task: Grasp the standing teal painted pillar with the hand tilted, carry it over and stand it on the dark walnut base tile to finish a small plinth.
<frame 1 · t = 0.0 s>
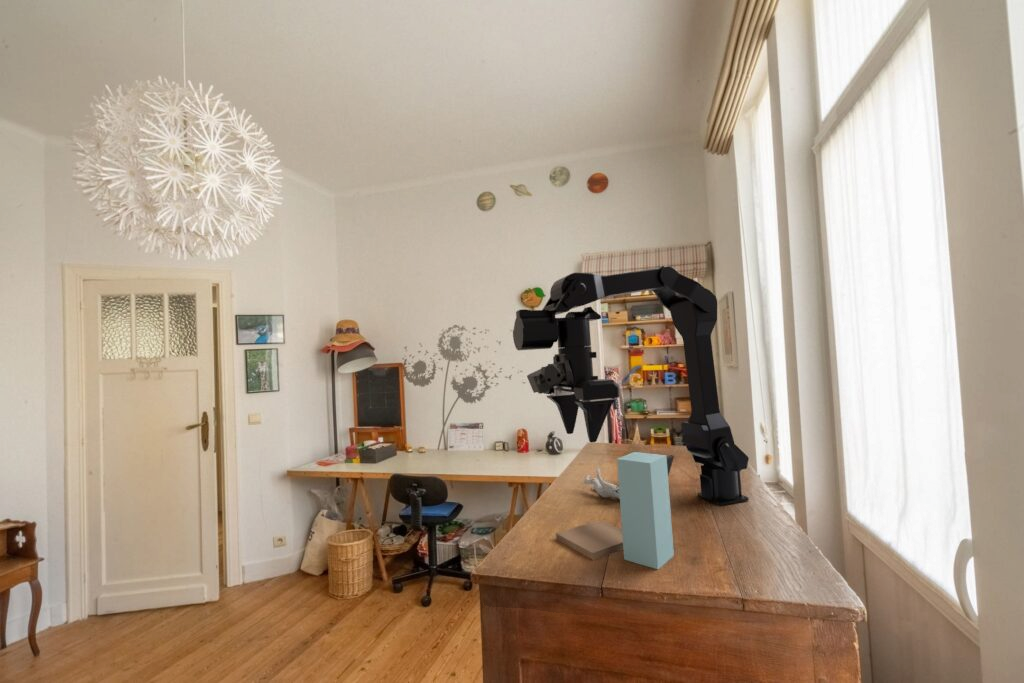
hand: (580, 437, 77), 15 cm above the table, tool pointing down, fingers open, 9 cm apart
base tile: (597, 544, 69), on the table
character figurine: (648, 491, 92), on the table
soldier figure: (605, 498, 90), on the table
pillar: (649, 557, 62), on the table
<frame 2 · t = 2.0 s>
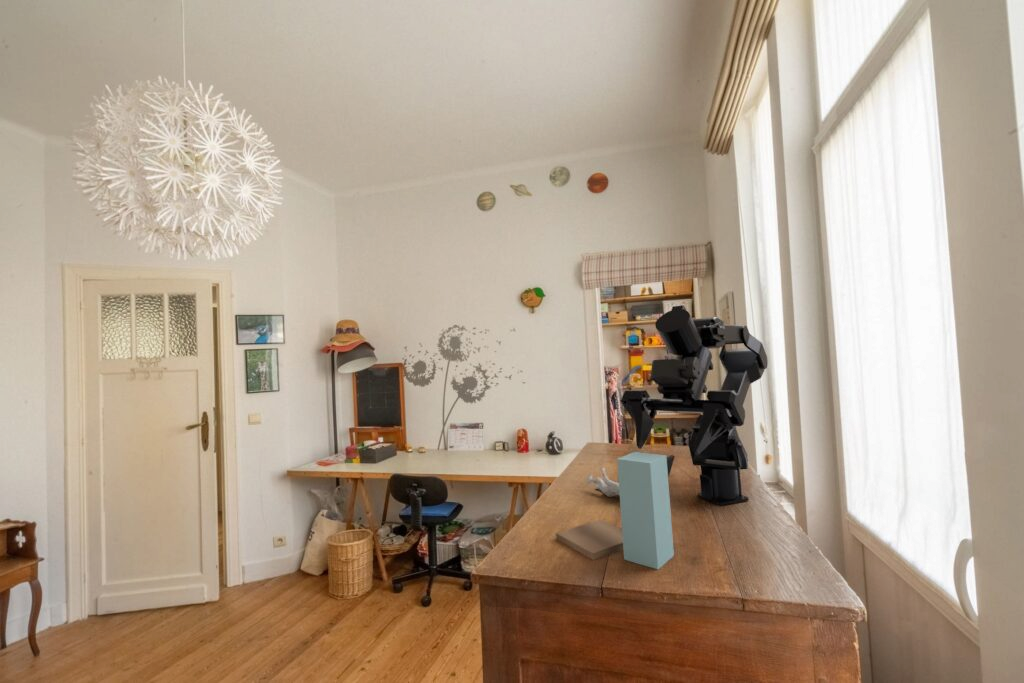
hand: (666, 450, 69), 13 cm above the table, tool tilted 45°, fingers open, 9 cm apart
character figurine: (649, 491, 92), on the table, touching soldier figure
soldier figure: (610, 497, 90), on the table, touching character figurine
everything else where it was.
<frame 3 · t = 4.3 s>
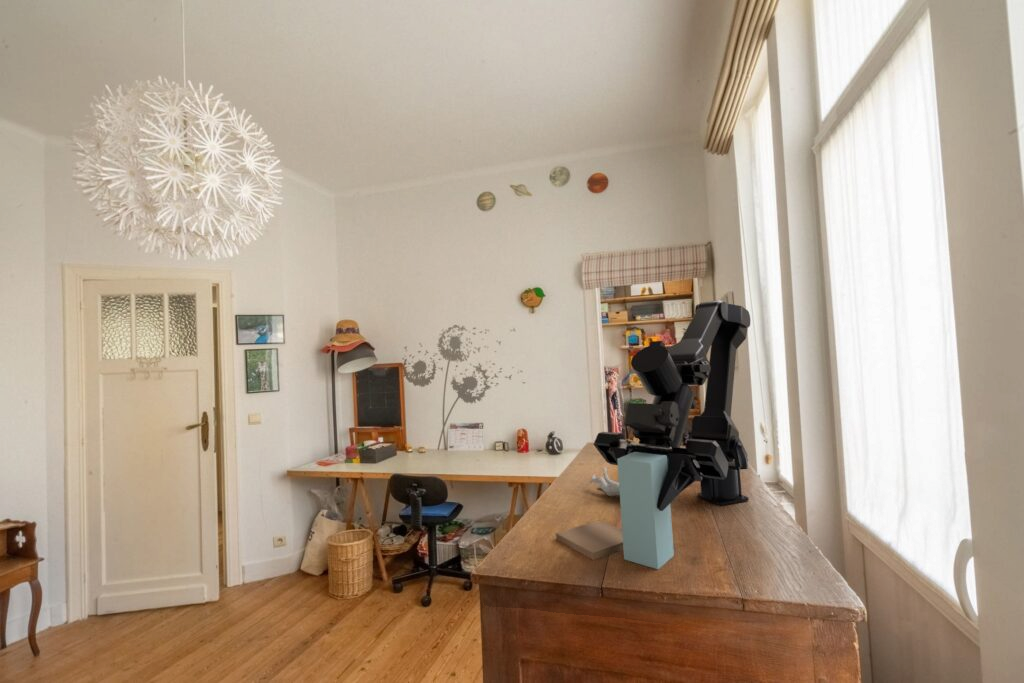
hand: (640, 505, 62), 8 cm above the table, tool tilted 45°, fingers closed on pillar, 5 cm apart
pillar: (649, 557, 62), on the table, touching gripper
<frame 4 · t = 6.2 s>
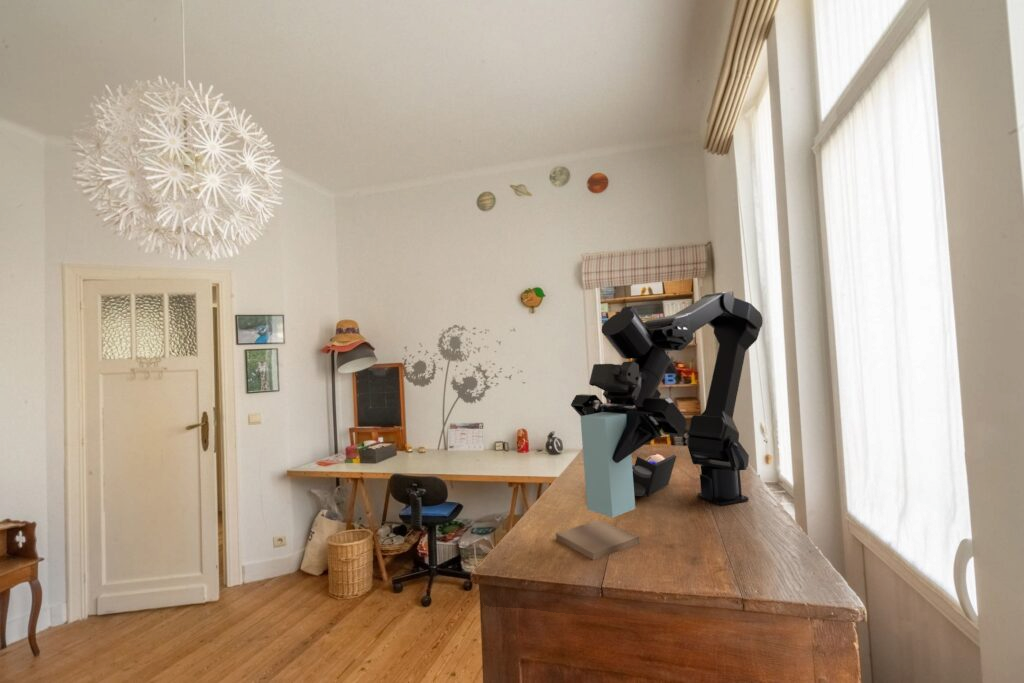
hand: (600, 458, 66), 13 cm above the table, tool tilted 45°, fingers closed on pillar, 5 cm apart
character figurine: (651, 491, 92), on the table
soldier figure: (613, 496, 90), on the table
pillar: (611, 509, 66), point 6 cm above the table, touching gripper
everything else where it was.
when the fingers open (10 cm above the table, at t = 7.6 s): pillar drops 1 cm, resting on base tile.
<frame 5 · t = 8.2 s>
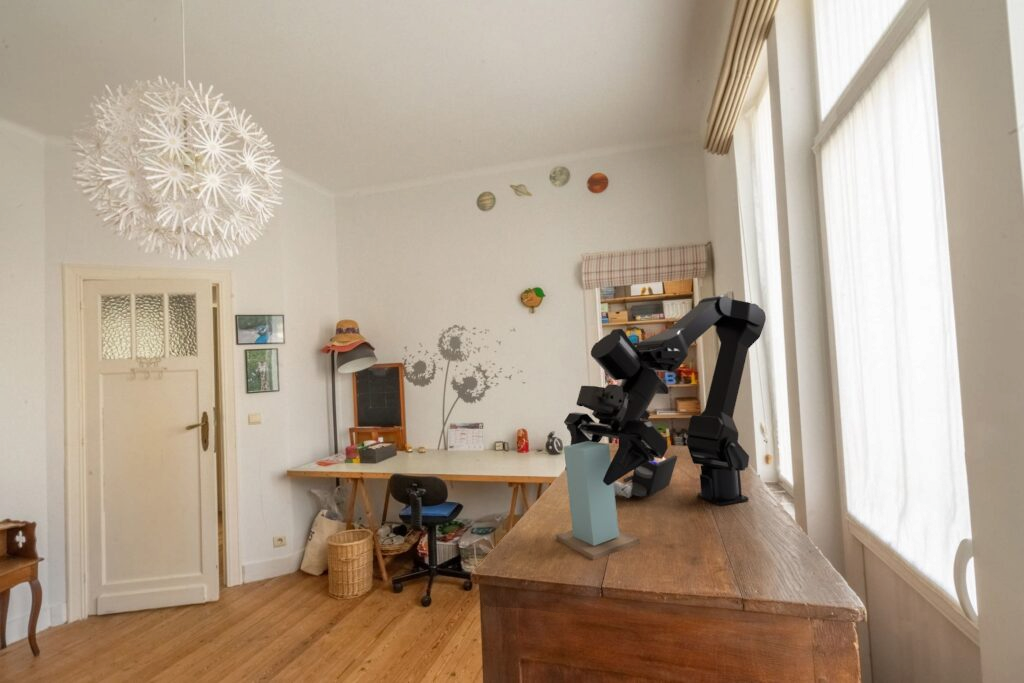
hand: (585, 477, 69), 10 cm above the table, tool tilted 45°, fingers open, 9 cm apart
base tile: (597, 546, 69), on the table, touching pillar
pillar: (595, 536, 69), point 1 cm above the table, touching base tile
everything else where it was.
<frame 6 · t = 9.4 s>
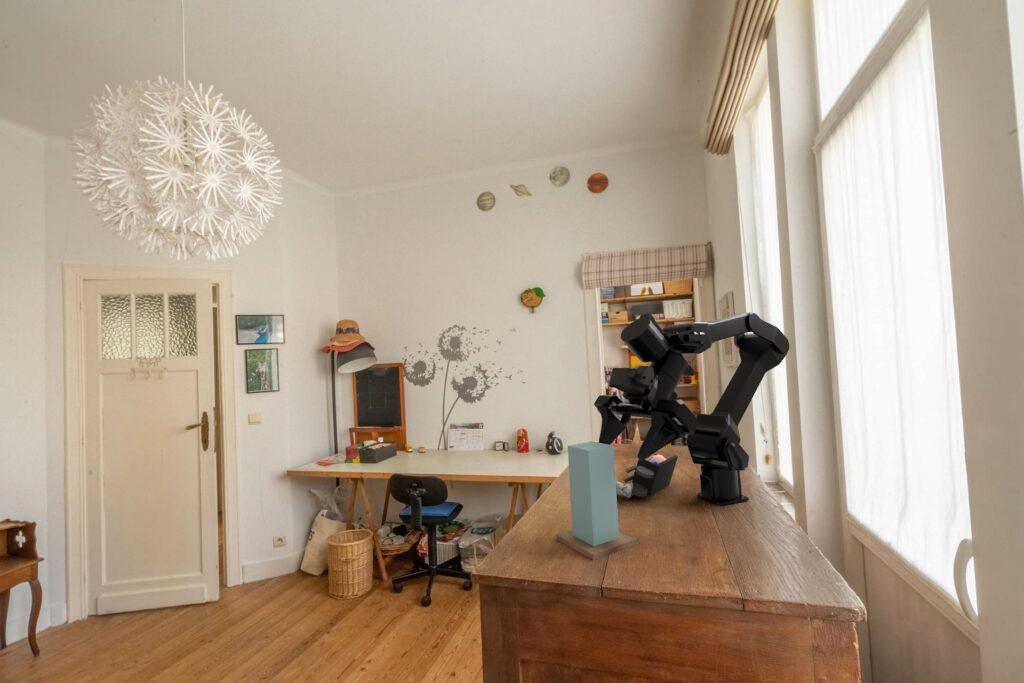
hand: (618, 454, 72), 12 cm above the table, tool tilted 45°, fingers open, 9 cm apart
base tile: (597, 546, 69), on the table
character figurine: (652, 492, 91), on the table, touching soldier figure
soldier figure: (615, 496, 90), on the table, touching character figurine
pillar: (595, 536, 69), point 1 cm above the table
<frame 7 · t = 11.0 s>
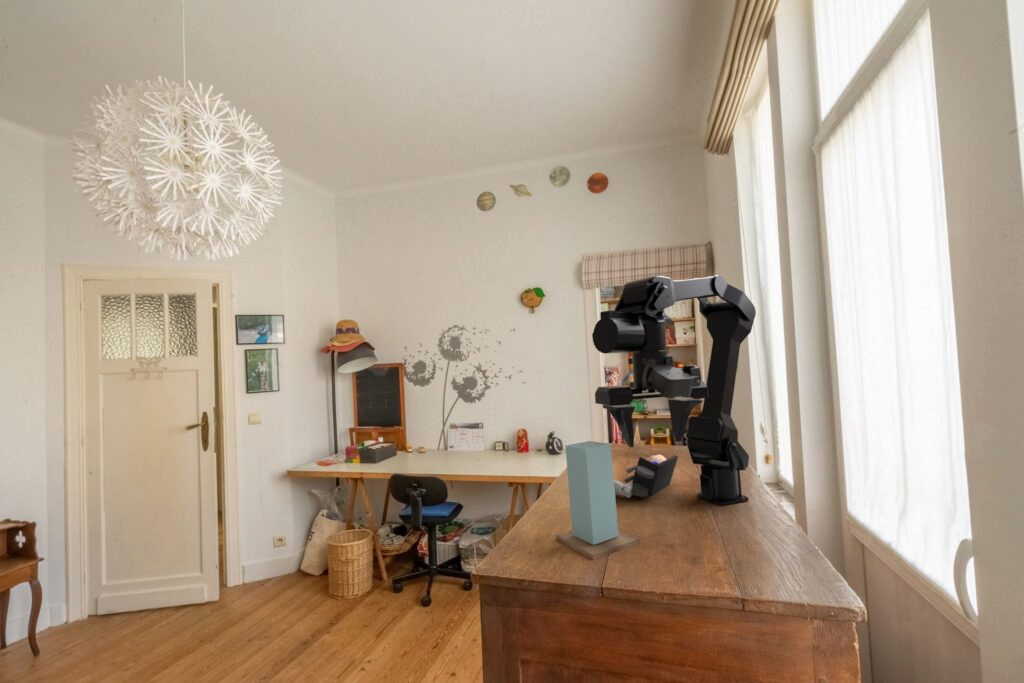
hand: (655, 444, 75), 13 cm above the table, tool pointing down, fingers open, 9 cm apart
nothing on the table moved.
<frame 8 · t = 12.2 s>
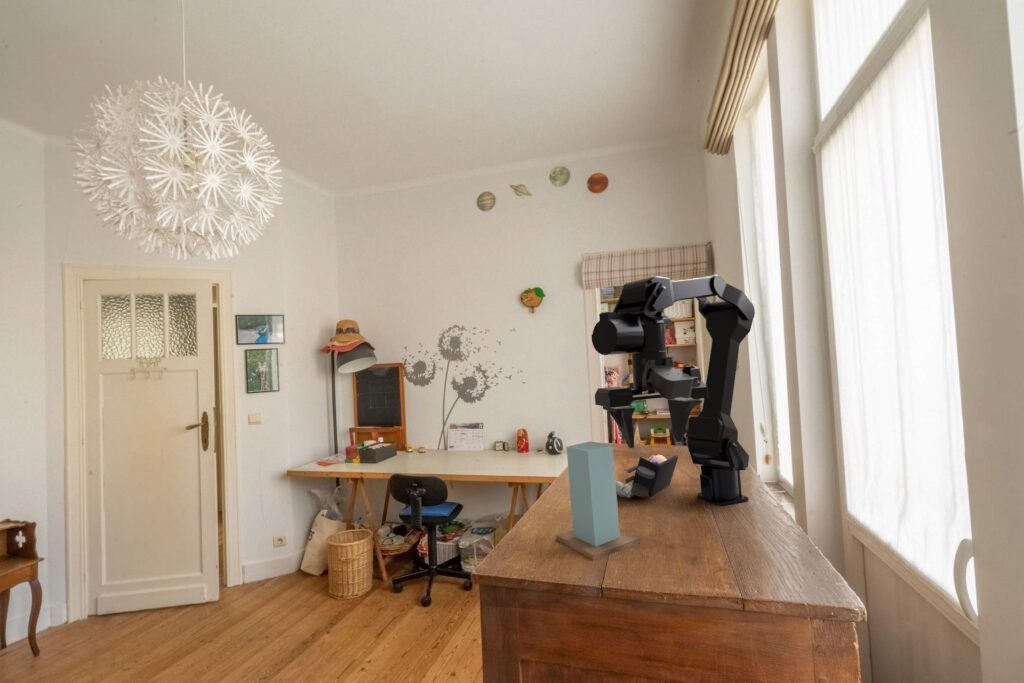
hand: (655, 444, 75), 13 cm above the table, tool pointing down, fingers open, 9 cm apart
base tile: (597, 546, 69), on the table, touching pillar
character figurine: (653, 492, 91), on the table
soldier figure: (616, 495, 91), on the table
pillar: (596, 536, 69), point 1 cm above the table, touching base tile
at the end: pillar 0.1 cm off-centre on the base tile, point 1.6 cm above the base tile's base; pillar tilted 2°; the gripper is holding nothing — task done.
